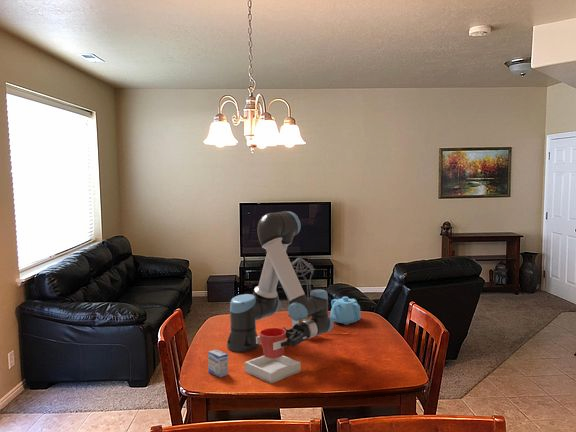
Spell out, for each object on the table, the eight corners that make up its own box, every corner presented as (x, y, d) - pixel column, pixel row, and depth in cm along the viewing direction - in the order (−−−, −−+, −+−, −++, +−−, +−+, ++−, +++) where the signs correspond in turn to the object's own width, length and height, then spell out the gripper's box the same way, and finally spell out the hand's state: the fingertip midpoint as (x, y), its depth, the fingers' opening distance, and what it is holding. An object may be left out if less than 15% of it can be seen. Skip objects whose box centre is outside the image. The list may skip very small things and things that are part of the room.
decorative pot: (361, 326, 255) (361, 301, 254) (330, 326, 257) (330, 300, 256) (359, 317, 272) (360, 293, 270) (330, 316, 273) (330, 293, 272)
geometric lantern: (286, 326, 257) (285, 260, 254) (286, 318, 272) (284, 256, 270) (316, 325, 257) (315, 259, 255) (314, 317, 273) (313, 255, 270)
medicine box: (207, 372, 199) (207, 351, 198) (216, 369, 202) (216, 348, 201) (219, 377, 193) (219, 356, 192) (228, 374, 196) (228, 353, 195)
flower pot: (256, 359, 194) (256, 335, 193) (264, 349, 204) (264, 326, 204) (282, 361, 191) (282, 336, 190) (289, 351, 202) (288, 328, 201)
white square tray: (271, 383, 187) (271, 373, 187) (244, 371, 199) (244, 362, 199) (300, 371, 198) (300, 362, 198) (273, 360, 210) (273, 351, 210)
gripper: (323, 345, 202) (284, 359, 187) (286, 333, 218) (247, 346, 203) (323, 327, 201) (284, 340, 186) (286, 316, 217) (247, 328, 202)
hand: (265, 343), depth 194 cm, fingers closed on flower pot, 10 cm apart
